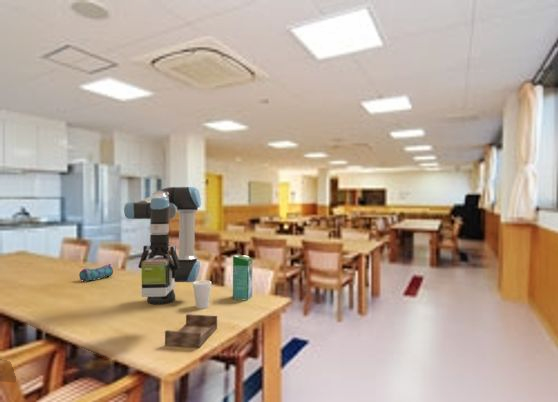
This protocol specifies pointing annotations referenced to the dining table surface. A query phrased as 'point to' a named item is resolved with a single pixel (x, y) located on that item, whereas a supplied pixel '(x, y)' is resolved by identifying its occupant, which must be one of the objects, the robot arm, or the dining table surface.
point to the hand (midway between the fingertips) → (159, 285)
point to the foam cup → (202, 293)
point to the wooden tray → (192, 331)
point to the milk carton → (242, 277)
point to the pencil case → (96, 273)
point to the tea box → (156, 277)
